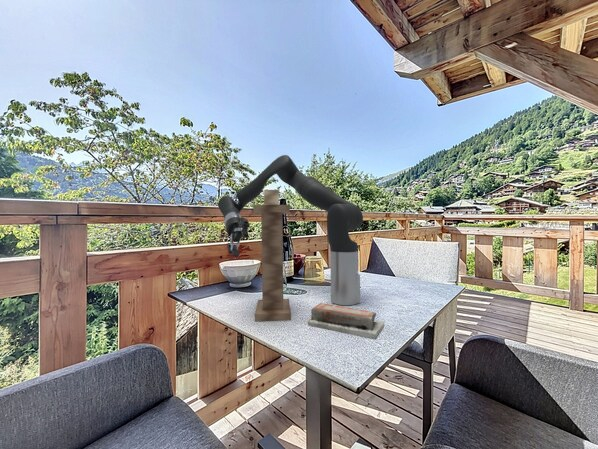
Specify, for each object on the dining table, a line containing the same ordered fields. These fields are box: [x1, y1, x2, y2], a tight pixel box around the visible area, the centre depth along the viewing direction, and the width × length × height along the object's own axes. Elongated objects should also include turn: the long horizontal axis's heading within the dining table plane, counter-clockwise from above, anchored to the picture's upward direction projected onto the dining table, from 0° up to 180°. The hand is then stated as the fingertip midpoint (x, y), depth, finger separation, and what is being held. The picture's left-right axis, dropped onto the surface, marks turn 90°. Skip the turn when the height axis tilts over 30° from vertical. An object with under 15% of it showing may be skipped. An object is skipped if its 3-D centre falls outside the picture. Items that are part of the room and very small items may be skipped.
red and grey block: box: [307, 302, 385, 340], centre depth 69 cm, size 18×5×10 cm
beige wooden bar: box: [263, 189, 280, 205], centre depth 84 cm, size 4×24×4 cm, turn 5°
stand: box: [252, 204, 292, 322], centre depth 80 cm, size 10×14×32 cm
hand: (241, 246), depth 97 cm, fingers open, 8 cm apart
